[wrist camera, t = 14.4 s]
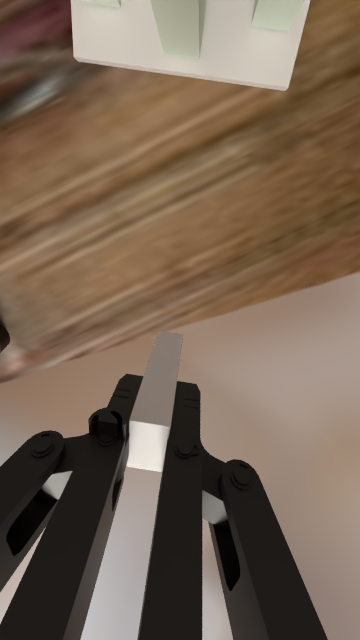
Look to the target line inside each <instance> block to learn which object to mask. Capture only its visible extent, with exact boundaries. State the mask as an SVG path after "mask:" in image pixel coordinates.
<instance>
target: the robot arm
mask: <svg viewBox="0 0 360 640" xmlns="http://www.w3.org/2000/svg"><path fill="white" fill-rule="evenodd" d="M182 339H183V334H177V333H170V332H164V331H158V334H157V337H156V340H155V343H154V346H153V349H152V352H151V355H150V358H149V361H148V364H147V368H146V371H145V374H144V376H137V375H131V374H126V375H125V376H123V378H121V379H120V380H119V382H118V384H117V386H116V389H115V391H114V393H113V396H112V397H111V400H110V402H109V404H108V406H107V408H103V409H99V410H97V411H96V412H94V413H93V414H92V415H91V417H90V418H89V433H88V434H85V435H82V436H78V437H70V438H63V436H62V435H61V434H60V433H58V432H56V431H51V430H50V431H43V432H41V433H38V434H36V435H34V436H32V437H31V438H30V439H28V440H27V441H26V442H25V443H24V444H23V445H22V446H21V447H20V448H19V449H18V450H17V451H16V452H15V453H14V454H13V455H12V456H11V457H10V458H9V459H8V460H7V461H6V462H5V463H4V464H3V465H2V466H0V592H1V590H2V589H3V588H4V586H5V585H6V583H7V582H8V580H9V579H10V577H11V576H12V575H13V573H14V572H15V570H16V569H17V567H18V566H19V564H20V563H21V562H22V560H23V559H24V557H25V556H26V554H27V553H28V551H29V550H30V549H31V547H32V546H33V544H34V543H35V541H36V540H37V538H38V537H39V536H40V534H41V533H42V531H43V530H44V528H45V527H46V529H45V530H44V532H43V535H42V537H41V539H40V541H39V543H38V545H37V547H36V549H35V552H34V554H33V556H32V558H31V560H30V562H29V565H28V567H27V569H26V571H25V573H24V575H23V577H22V579H21V581H20V583H19V586H18V588H17V590H16V592H15V594H14V596H13V598H12V600H11V603H10V605H9V607H8V609H7V611H6V613H5V616H4V617H3V620H2V622H1V624H0V640H80V638H81V635H82V631H83V627H84V624H85V620H86V617H87V613H88V609H89V606H90V602H91V598H92V595H93V591H94V588H95V584H96V580H97V577H98V573H99V569H100V566H101V562H102V558H103V555H104V551H105V547H106V543H107V540H108V536H109V532H110V529H111V525H112V522H113V518H114V514H115V510H116V507H117V503H118V499H119V496H120V492H121V489H122V485H123V479H124V471H125V468H126V464H127V467H134V468H140V469H146V470H152V471H158V472H162V477H161V484H160V490H159V496H158V504H157V511H156V518H155V525H154V531H153V538H152V545H151V552H150V558H149V566H148V572H147V579H146V585H145V592H144V600H143V606H142V613H141V619H140V626H139V633H138V640H202V518H204V519H205V520H207V521H208V522H209V527H210V532H211V537H212V542H213V546H214V551H215V556H216V560H217V565H218V570H219V574H220V579H221V584H222V588H223V593H224V598H225V602H226V607H227V612H228V616H229V621H230V626H231V630H232V635H233V640H328V639H327V637H326V634H325V632H324V630H323V627H322V625H321V622H320V620H319V618H318V616H317V613H316V611H315V608H314V606H313V603H312V601H311V599H310V596H309V594H308V592H307V589H306V587H305V585H304V582H303V580H302V578H301V575H300V573H299V570H298V568H297V566H296V563H295V561H294V559H293V556H292V554H291V551H290V549H289V547H288V545H287V542H286V540H285V537H284V535H283V533H282V530H281V528H280V525H279V523H278V521H277V518H276V516H275V514H274V511H273V509H272V507H271V504H270V502H269V499H268V497H267V495H266V492H265V490H264V488H263V485H262V483H261V481H260V478H259V476H258V474H257V473H256V471H255V470H254V468H252V467H251V466H250V465H249V464H248V463H246V462H244V461H242V460H235V459H233V460H230V461H228V462H227V463H225V462H223V461H221V460H219V459H217V458H215V457H213V456H212V455H210V454H209V453H208V452H207V451H206V450H205V449H204V447H203V446H202V443H201V440H200V391H199V389H198V386H197V384H192V383H186V382H179V381H177V376H178V369H179V361H180V354H181V347H182Z"/></svg>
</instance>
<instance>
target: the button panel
mask: <svg viewBox="0 0 360 640" xmlns="http://www.w3.org/2000/svg"><path fill="white" fill-rule="evenodd" d="M255 2H256V0H206V9H205V17H204V26H203V34H202V42H201V50H200V59H196V58H189V57H182V56H175V55H168V54H164V52H163V48H162V44H161V40H160V36H159V32H158V29H157V25H156V21H155V17H154V13H153V9H152V5H151V2H150V0H121V7H115V6H108V5H101V4H94V3H87V2H83V0H71V10H72V30H73V50H74V58H75V59H76V60H77V61H79V62H86V63H93V64H100V65H107V66H114V67H121V68H128V69H135V70H142V71H149V72H156V73H163V74H170V75H177V76H184V77H191V78H198V79H205V80H212V81H219V82H226V83H233V84H240V85H247V86H254V87H261V88H269V89H276V90H283V91H286V90H287V89H288V87H289V83H290V79H291V75H292V71H293V67H294V63H295V59H296V55H297V51H298V47H299V43H300V39H301V35H302V31H303V27H304V23H305V20H306V16H307V12H308V8H309V4H310V0H304V2H303V4H302V6H301V8H300V10H299V12H298V14H297V16H296V18H295V20H294V21H293V23H292V25H291V27H290V29H289V31H287V30H280V29H273V28H265V27H258V26H251V23H252V18H253V12H254V7H255Z"/></svg>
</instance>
